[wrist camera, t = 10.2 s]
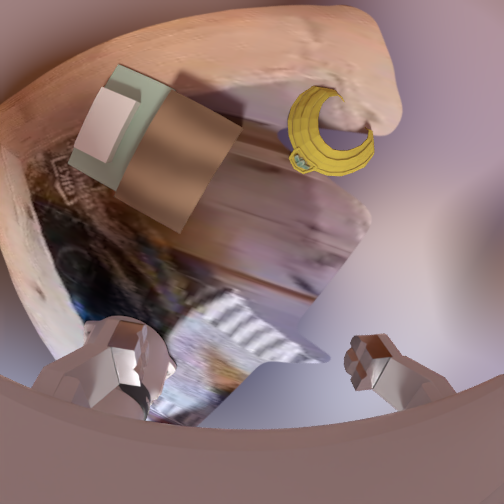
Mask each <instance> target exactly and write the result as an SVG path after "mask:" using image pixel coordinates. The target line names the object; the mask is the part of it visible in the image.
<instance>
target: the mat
mask: <svg viewBox="0 0 504 504" xmlns="http://www.w3.org/2000/svg"><path fill="white" fill-rule="evenodd" d="M104 88H106V89H109V90H111V91H114V92H116V93H118V94H121V95H123V96H126V97H128V98H130V99H133V100H135V101H137V102H139V103H141V104H140V106H139V107H138V109H137V111H136V113H135V115H134V117H133V119H132V120H131V122H130V124H129V126H128V128H127V130H126V132H125V134H124V136H123V138H122V140H121V142H120V144H119V147H118V149H117V151H116V153H115V155H114V157H113V160H112V162H110V163H104V162H102V161H100V160H98V159H96V158H94V157H92V156H90V155H88V154H87V153H85V152H83V151H81V150H79V149H77V148H75V147H74V149H73V152H72V154H71V157H70V159H69V162H68V164H69V165H71V166H72V167H74V168H76V169H78V170H79V171H81V172H83V173H85V174H86V175H88V176H90V177H92V178H93V179H95V180H97V181H99V182H100V183H102V184H104V185H106V186H107V187H109V188H111V189H113V190H114V191H116V190H117V188H118V186H119V183H120V181H121V179H122V177H123V175H124V173H125V171H126V169H127V167H128V165H129V163H130V161H131V159H132V157H133V155H134V153H135V151H136V149H137V147H138V145H139V143H140V141H141V139H142V138H143V136H144V134H145V132H146V130H147V129H148V127H149V125H150V123H151V122H152V120H153V118H154V117H155V115H156V113H157V112H158V110H159V108H160V107H161V105H162V103H163V102H164V100H165V99H166V97H167V96H168V94H169V92H170V91H171V89H172V88H170V87H168V86H166V85H164V84H162V83H160V82H158V81H156V80H153V79H151V78H149V77H147V76H144V75H142V74H140V73H138V72H135V71H133V70H131V69H128V68H126V67H123V66H121V65H118V66H117V67H116V69H115V70H114V72H113V74H112V75H111V77H110V79H109V80H108V82H107V84H106V85H105V87H104ZM172 90H174V89H172ZM174 91H176V90H174Z"/></svg>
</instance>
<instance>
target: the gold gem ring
mask: <svg viewBox="0 0 504 504" xmlns="http://www.w3.org/2000/svg"><path fill="white" fill-rule="evenodd" d="M337 95H338V93H337V92H336V90H334V89H329V88H323V87H316V86H312V87H311V88H309V89H308V90H306V91H305V92H303V93H302V94H300V95H299V96H298V98H297V99H296V101H295V102H294V104H293V105H292V107H291V110H290V114H289V118H288V131H289V138H290V141H291V144H292V146H293V149H294V150H293V152H292V153H291V155H290V156H289V160H290V162H291V164H292V165H293V167H294V169H296V170H297V171H299V172H301V173H302V174H305V173H308V172H312V171H317V172H319V173H322V174H325V175H328V176H343V175H346V174H350V173H353V172H355V171H357V170H359V169H361V168H363V167H365V166H366V164H367V163H368V162H369V160H370V159H371V158H372V156H373V155H374V139H373V131H371V130H370V129H367V128H366V127H365V129H367V130H368V137H367V139H366V140H365V141H364V142H363V143H362V144H361V145H360V146H358V147H356V148H353V149H350V150H346V151H345V150H344V151H343V150H335V149H332V148H331V147H330V146H328V145H327V144H326V143H325V142H324V140H323V139H322V138H321V136H320V133H319V128H318V117H319V112H320V109H321V106H322V104H323V103H324V102H325V101H326V100H327V99H328V98H329V97H331V96H337ZM338 96H339V97H341V96H340V95H338ZM341 99H342V100H343V98H342V97H341ZM343 101H344V100H343ZM344 102H345V101H344Z"/></svg>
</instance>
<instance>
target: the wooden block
mask: <svg viewBox="0 0 504 504" xmlns="http://www.w3.org/2000/svg"><path fill="white" fill-rule="evenodd" d="M242 130H243V128H242V127H240V126H238V125H237V124H235V123H233V122H231V121H230V120H228V119H226V118H225V117H223V116H221V115H219V114H217V113H216V112H214V111H212V110H210V109H208V108H207V107H205V106H203V105H201V104H199V103H197V102H195V101H193V100H191V99H189V98H188V97H186V96H184V95H182V94H180V93H178V92H176V91H174V90H172V89H171V91H170V92H169V94H168V96H167V97H166V99H165V100H164V102H163V103H162V105H161V107H160V108H159V110H158V112H157V113H156V115H155V117H154V118H153V120H152V122H151V123H150V125H149V127H148V129H147V130H146V132H145V134H144V136H143V138H142V139H141V141H140V143H139V145H138V147H137V149H136V151H135V153H134V155H133V157H132V159H131V161H130V163H129V165H128V167H127V169H126V171H125V173H124V175H123V177H122V179H121V181H120V183H119V186H118V188H117V190H116V192H115V194H114V197H115V198H117V199H119V200H120V201H122V202H124V203H126V204H127V205H129V206H131V207H133V208H134V209H136V210H138V211H140V212H142V213H143V214H145V215H147V216H149V217H151V218H152V219H154V220H156V221H158V222H159V223H161V224H163V225H165V226H167V227H168V228H170V229H172V230H174V231H176V232H178V233H179V234H180V233H181V231H182V229H183V227H184V226H185V224H186V222H187V220H188V218H189V217H190V215H191V213H192V211H193V210H194V208H195V206H196V204H197V203H198V201H199V199H200V197H201V196H202V194H203V192H204V191H205V189H206V187H207V186H208V184H209V182H210V181H211V179H212V177H213V176H214V174H215V172H216V171H217V169H218V167H219V166H220V164H221V163H222V161H223V159H224V158H225V156H226V155H227V153H228V151H229V150H230V148H231V147H232V145H233V144H234V142H235V140H236V139H237V137H238V136H239V134H240V133H241V131H242Z"/></svg>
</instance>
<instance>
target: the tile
mask: <svg viewBox="0 0 504 504" xmlns="http://www.w3.org/2000/svg"><path fill="white" fill-rule="evenodd" d="M140 104H141V103H139V102H137V101H135V100H133V99H130V98H128V97H126V96H123V95H121V94H118V93H116V92H114V91H111V90H109V89H106V88H104V87H101V89H100V91H99V92H98V94H97V96H96V98H95V100H94V102H93V104H92V106H91V108H90V110H89V112H88V114H87V116H86V119H85V121H84V123H83V125H82V127H81V130H80V132H79V134H78V137H77V139H76V141H75V144H74V146H73V147H75V148H77V149H79V150H81V151H83V152H85V153H87V154H88V155H90V156H92V157H94V158H96V159H98V160H100V161H102V162H104V163H110V162H112V160H113V157H114V155H115V153H116V151H117V149H118V147H119V144H120V142H121V140H122V138H123V136H124V134H125V132H126V130H127V128H128V126H129V124H130V122H131V120H132V119H133V117H134V115H135V113H136V111H137V109H138V107H139V106H140Z"/></svg>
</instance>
